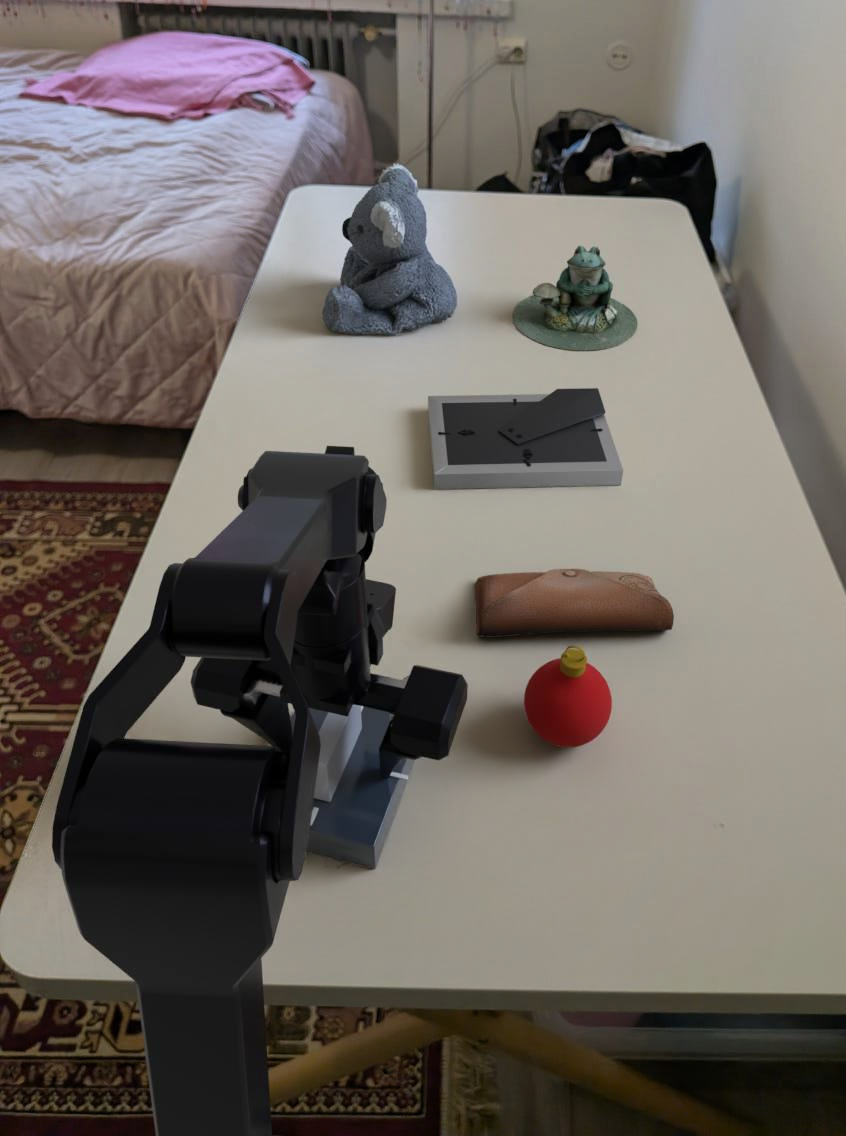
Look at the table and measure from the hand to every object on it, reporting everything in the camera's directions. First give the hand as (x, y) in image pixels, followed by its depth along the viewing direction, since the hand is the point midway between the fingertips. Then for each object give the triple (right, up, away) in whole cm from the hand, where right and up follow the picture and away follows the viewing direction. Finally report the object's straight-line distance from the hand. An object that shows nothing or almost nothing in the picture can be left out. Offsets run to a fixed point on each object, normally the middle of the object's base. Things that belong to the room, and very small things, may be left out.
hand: (336, 761), depth 73 cm
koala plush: (-1, +46, +64) cm, 79 cm away
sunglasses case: (+19, +9, +18) cm, 28 cm away
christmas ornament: (+18, +1, +7) cm, 19 cm away
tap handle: (0, 0, 0) cm, 0 cm away
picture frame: (+15, +26, +39) cm, 49 cm away
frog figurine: (+24, +45, +64) cm, 82 cm away
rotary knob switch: (0, -2, +2) cm, 3 cm away
